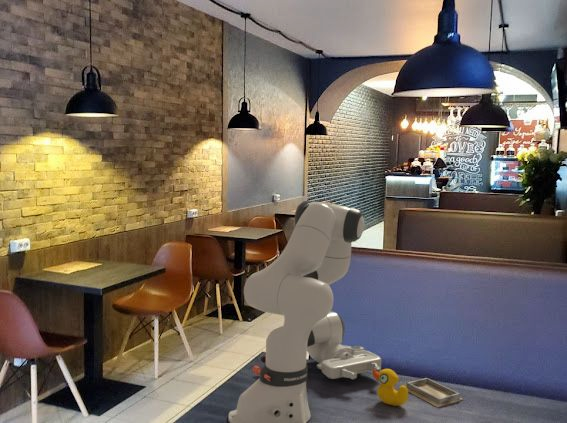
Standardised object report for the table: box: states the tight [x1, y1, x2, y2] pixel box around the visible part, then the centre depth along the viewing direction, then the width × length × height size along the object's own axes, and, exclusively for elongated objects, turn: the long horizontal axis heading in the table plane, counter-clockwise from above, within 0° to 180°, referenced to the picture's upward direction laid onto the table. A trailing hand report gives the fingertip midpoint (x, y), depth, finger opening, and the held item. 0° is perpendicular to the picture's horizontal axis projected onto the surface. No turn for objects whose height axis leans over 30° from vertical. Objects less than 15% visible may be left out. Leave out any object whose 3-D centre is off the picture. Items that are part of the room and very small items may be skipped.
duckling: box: [372, 368, 409, 407], centre depth 162 cm, size 11×5×10 cm, turn 52°
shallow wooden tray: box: [405, 377, 464, 408], centre depth 169 cm, size 10×14×2 cm
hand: (367, 373), depth 171 cm, fingers open, 8 cm apart
